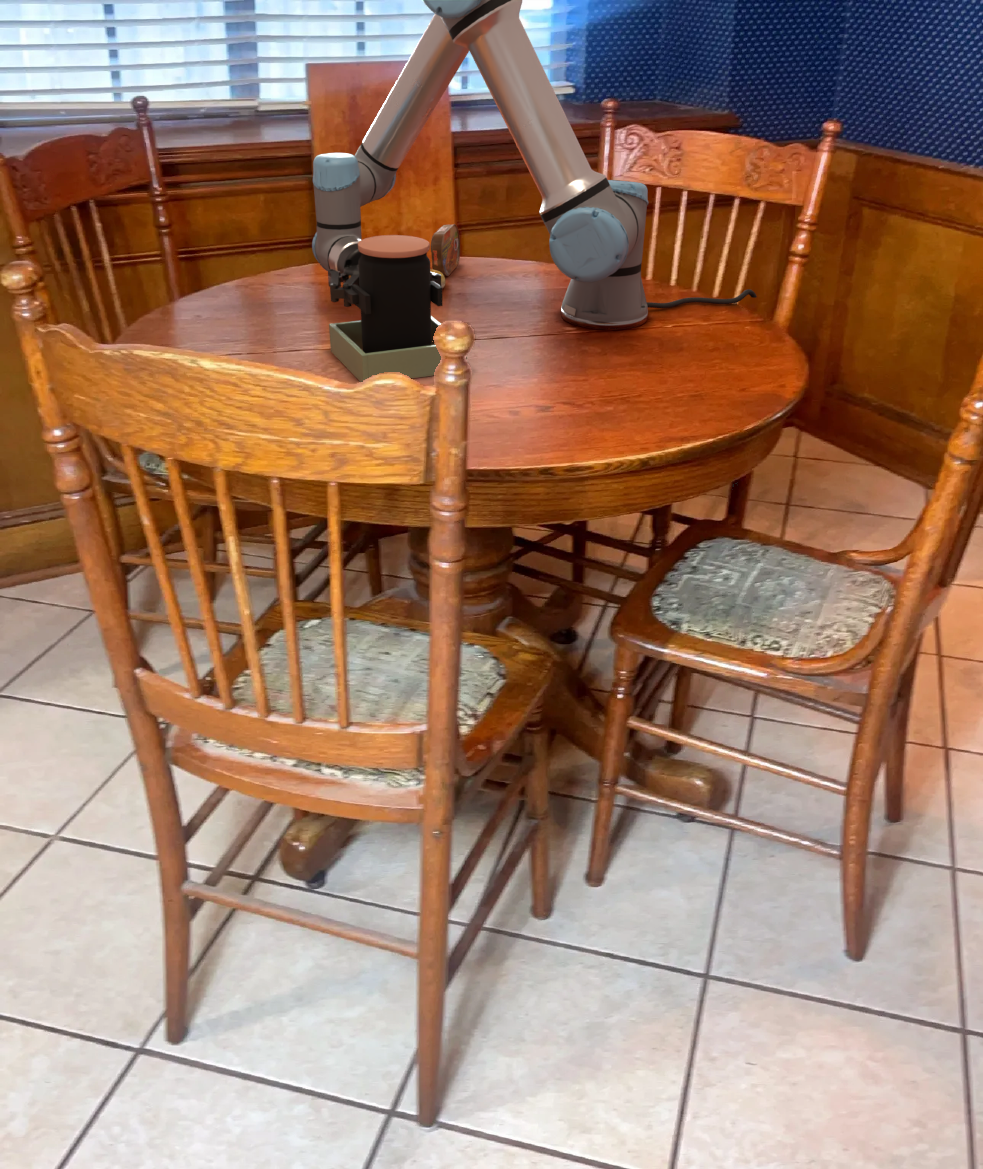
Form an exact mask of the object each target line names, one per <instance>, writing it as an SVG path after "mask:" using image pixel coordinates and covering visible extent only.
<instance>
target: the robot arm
mask: <svg viewBox="0 0 983 1169" xmlns="http://www.w3.org/2000/svg"><path fill="white" fill-rule="evenodd" d="M421 1H422V3H423V4H424V6H426V8H427V9H428V10H430V11H431V12H432V13H433V14H434V15H433V16H432V18H431V20H430V21H429V23H428V25H427V26H426V28H425V30H424V31H423V34H422V35H421V37H420V39H419V41H418V42H417V44H416V46H415V48H414V49H413V51H412V53H411V55H410V56H409V59H408V60H407V62H406V63H405V66H404V67H403V69H402V71H401V72H400V74H399V76H398V78H397V79H396V81H395V83H394V85H393V87H392V88H391V90H390V92H389V93H388V95H387V97H386V99H385V101H384V103H383V104H382V106H381V108H380V110H379V111H378V113H377V114H376V117H375V118H374V120H373V122H372V124H371V125H370V127H369V129H368V131H367V132H366V134H365V136H364V137H363V139H362V142H361V143H360V145H359V147H358V148H357V150H356V152H355V154H352V153H346V152H327V153H321V154H317V155H316V156H315V157H314V159H313V162H312V166H313V168H312V169H313V170H312V172H313V175H312V183H313V191H314V192H313V193H314V206H315V217H316V218H315V220H316V232H315V234H314V236H313V238H312V242H311V248H312V253H313V256H314V258H315V259H316V260H317V263H319V265H320V266H321V268H322V269H323V270H325V271H326V272H327V281H328V287H329V291H330V292H329V293H330V294H329V295H330V302H332V303H338V302H339V301H340V300H341V299H342V300H343V307H346V308H350V307H352V305H355V306H356V307H357V308H358V309H359V310H360V311H361V310H362V311H363V312H364V313H365V314H371V303H370V295H369V294H368V293H367V292H365V291H364V290H363V289H362V288H360V285H359V265H358V262H359V259H360V257H361V252H360V251H359V249H358V243H359V241H361V240H363V239H362V215H361V214H362V213H361V212H362V211H361V210H362V209H361V207H363V206H366V205H368V204H370V203H372V202H374V201H378V200H381V199H383V198H384V197H386V196H387V194H388V193H390V192H391V191H392V189H393V188H394V187H395V183H396V180H397V172H398V170H399V168H400V167H401V165H402V164H403V161H404V160H405V158H406V157H407V155H408V153H409V152H410V150H411V148H412V147H413V145H414V143H415V142H416V140H417V138H418V137H419V135H420V133H421V132H422V130H423V129H424V127H425V125H426V123H427V122H428V120H429V118H430V117H431V115H432V114H433V112H434V110H435V109H436V107H437V105H438V104H439V102H440V100H441V98H442V97H443V95H444V94H445V92H446V91H447V88H448V87H449V86H450V84H451V82H452V81H453V79H454V77H455V75H456V74H457V72H458V70H460V67H461V65H462V64H463V62H464V61H465V59H466V58H467V55H469V53H470V55H471V57H472V59H473V62H474V63H475V65H476V68H477V69H478V71H479V73H480V75H481V77H482V80H483V81H484V84H485V85H486V87H487V89H488V91H489V93H490V95H491V98H492V99H493V101H494V103H495V105H496V107H497V109H498V111H499V113H500V115H501V117H502V119H503V121H504V123H505V125H506V127H507V129H508V132H509V133H510V135H511V137H512V139H513V141H514V144H515V145H516V148H517V149H518V151H519V153H520V156H521V158H522V160H523V161H524V164H525V165H526V167H527V169H528V172H529V173H530V175H531V178H532V179H533V182H534V183H535V186H536V187H537V190H538V192H539V193H540V196H541V199H542V200H541V205H540V209H539V212H538V213H539V215H540V218H541V220H542V221H543V224H544V225H545V228H546V229H547V231H548V234H549V242H548V245H549V253H550V256H551V259H552V261H553V263H554V264H555V266H556V268H557V269H558V270H559V271H560V272H561V273H562V274H563V275H564V276H566V277H567V278H569V279H570V280H569V284H568V286H567V289H566V291H565V294H564V297H563V300H562V301H561V308H560V316H561V318H562V319H563V320H564V321H566V322H567V323H569V324H571V325H575V326H579V327H582V328H587V329H595V330H626V329H632V328H635V327H639V326H641V325H643V324H645V323H646V322H647V321H648V316H649V315H648V314H649V308H650V309H669V308H674V307H677V306H680V305H684V304H692V303H695V304H696V303H699V304H700V303H701V304H711V305H712V304H713V305H733V304H737V303H739V302H740V301H742V300H744V299H745V298H746V297H747V296H748V295H749V296H750V298H754V299H755V298H756V299H757V298H758V296H757V294H756V292H755V291H754V290H752V289H750V288H748V289H745V290H744V291H742V292H741V293H740V294H738V295H737V296H735V297H732V298H715V297H714V298H713V297H701V296H699V297H698V296H696V297H695V296H693V297H684V298H680V299H679V298H678V299H677V300H673V301H669V302H652V301H651V302H650V301H647V298H646V293H645V288H644V284H643V280H642V263H643V254H644V241H645V232H646V220H647V210H648V209H647V207H648V205H649V200H648V199H649V198H648V194H649V192H648V190H649V189H648V187H647V185H646V184H644V183H642V182H638V181H630V180H629V181H627V180H614V179H608V178H607V175H606V174H604V173H601V172H597V171H595V170H594V169H592V167H591V164H590V163H589V161H588V159H587V157H586V155H585V153H584V151H583V149H582V147H581V145H580V143H579V140H578V138H577V136H576V134H575V132H574V130H573V128H572V126H571V124H570V121H569V119H568V117H567V114H566V113H565V111H564V109H563V107H562V104H561V102H560V100H559V99H558V96H557V93H556V92H555V90H554V88H553V86H552V84H551V82H550V80H549V78H548V76H547V73H546V71H545V69H544V67H543V65H542V63H541V61H540V59H539V56H538V55H537V52H536V50H535V48H534V46H533V44H532V42H531V39H530V37H529V35H528V33H527V32H526V29H525V27H524V24H523V23H522V21H521V18H520V12H521V8H522V5H523V0H421ZM430 283H431V304H434V305H435V306H437V307H443V289H442V287H441V274H438V273H434V272H431V271H430ZM737 483H739V481H738V482H737ZM737 483H735V484H737ZM737 485H738V484H737ZM732 487H734V484H733V483H732ZM732 490H733V489H732V488H731V491H732Z"/></svg>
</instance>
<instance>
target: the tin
mask: <svg viewBox="0 0 983 1169" xmlns="http://www.w3.org/2000/svg"><path fill="white" fill-rule="evenodd" d="M430 254H431V269H433V270H437V271H440V272H441V273H442V274H443V275H444V277H449V276H450V275H451V274H452V273H453V272H454V271H455V269H457V267H458V265H459V262H460V259H461V258H460V256H461V238H460V232H459V228H458V226H457V224H455V223H454V224H453V223H452V224H442V225H441V227H439V228H438V229H437V230H436V231H435V232H434V233H433V234H432V237H431V240H430Z"/></svg>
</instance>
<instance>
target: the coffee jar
mask: <svg viewBox="0 0 983 1169" xmlns="http://www.w3.org/2000/svg"><path fill="white" fill-rule="evenodd" d="M358 249H359V251H360V252H361V257H360V259H359V262H358V265H359V285H360V288H362V289H363V290H364V291H365V292H367V293H368V294H369V295H370V303H371V314H365V313H364V312H363V311H362V310H360V320H361V327H362V348H363V349H362V351H363V352H365V353H373V352H381V351H389V350H397V349H405V348H413V347H421V346H429V345H431V316H432V302H431V283H430V269H431V259H430V258H429V257H428V252H429V251H430V250H431V242H429V241H428V240H427V239H425V238H422V237H418V236H414V235H413V236H412V235H402V234H399V235H398V234H386V235H374V236H371V237H369V236H368V237H366V238H364V239H362V240H361V241H359V243H358Z"/></svg>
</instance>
